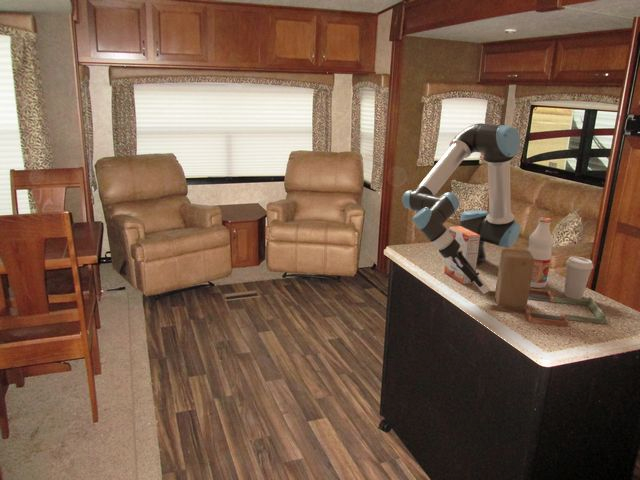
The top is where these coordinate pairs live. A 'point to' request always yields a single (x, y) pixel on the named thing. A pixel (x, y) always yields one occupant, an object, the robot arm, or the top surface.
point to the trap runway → (552, 319)
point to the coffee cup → (577, 276)
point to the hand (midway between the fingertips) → (486, 291)
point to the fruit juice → (541, 252)
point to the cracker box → (463, 252)
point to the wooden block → (514, 278)
